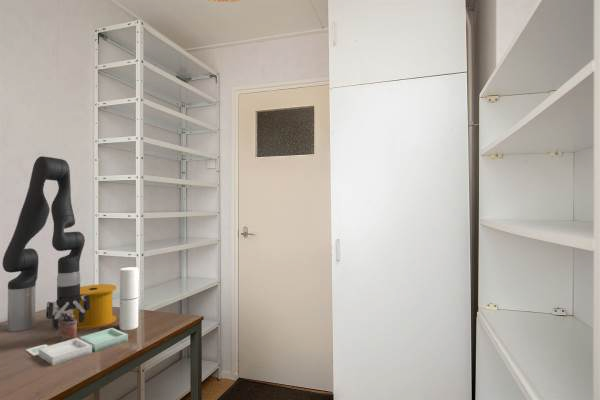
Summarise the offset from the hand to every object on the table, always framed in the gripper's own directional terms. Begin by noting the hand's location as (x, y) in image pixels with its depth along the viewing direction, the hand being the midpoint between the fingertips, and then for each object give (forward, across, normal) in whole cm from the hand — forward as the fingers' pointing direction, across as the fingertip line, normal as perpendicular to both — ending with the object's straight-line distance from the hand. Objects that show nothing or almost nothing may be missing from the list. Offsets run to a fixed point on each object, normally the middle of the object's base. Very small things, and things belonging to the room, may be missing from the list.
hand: (68, 325), depth 135 cm
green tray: (+6, -7, +14) cm, 16 cm away
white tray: (+6, +6, +14) cm, 16 cm away
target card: (+6, +10, +3) cm, 12 cm away
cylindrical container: (+6, -21, +6) cm, 22 cm away
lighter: (+6, 0, 0) cm, 6 cm away
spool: (+6, -15, -13) cm, 21 cm away
